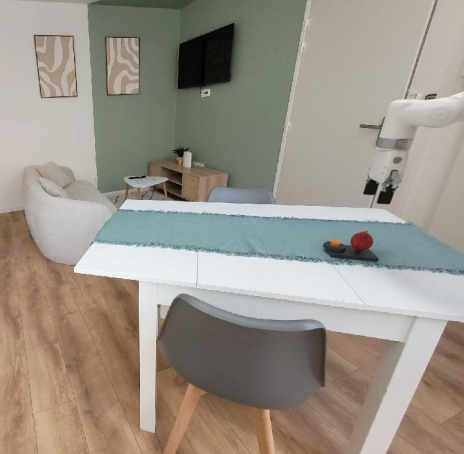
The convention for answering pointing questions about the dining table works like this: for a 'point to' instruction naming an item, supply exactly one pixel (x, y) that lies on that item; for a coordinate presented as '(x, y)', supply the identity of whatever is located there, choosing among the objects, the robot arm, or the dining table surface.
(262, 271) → the dining table surface
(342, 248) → the scale
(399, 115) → the robot arm
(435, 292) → the dining table surface
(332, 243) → the tare button
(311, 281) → the dining table surface
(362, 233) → the onion
